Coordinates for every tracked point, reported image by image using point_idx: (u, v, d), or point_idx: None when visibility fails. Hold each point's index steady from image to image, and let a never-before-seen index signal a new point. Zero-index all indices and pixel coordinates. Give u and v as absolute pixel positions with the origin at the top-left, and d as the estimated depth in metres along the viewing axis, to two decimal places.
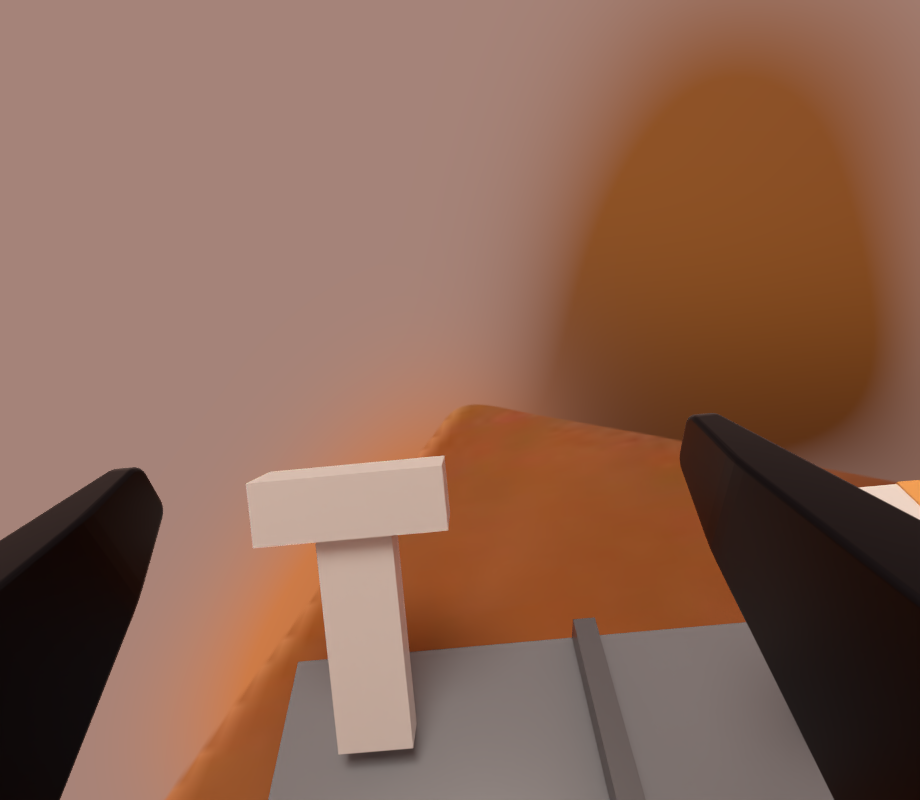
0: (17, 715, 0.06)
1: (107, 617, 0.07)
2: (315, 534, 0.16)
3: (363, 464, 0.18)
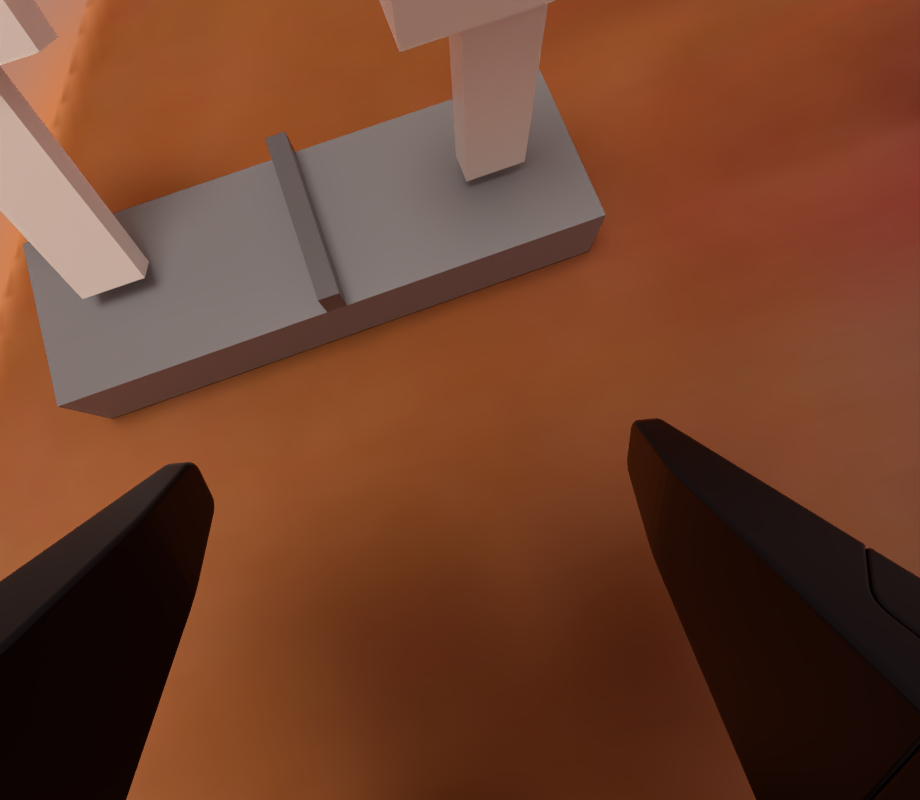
0: (91, 708, 0.06)
1: (168, 611, 0.07)
2: None
3: None
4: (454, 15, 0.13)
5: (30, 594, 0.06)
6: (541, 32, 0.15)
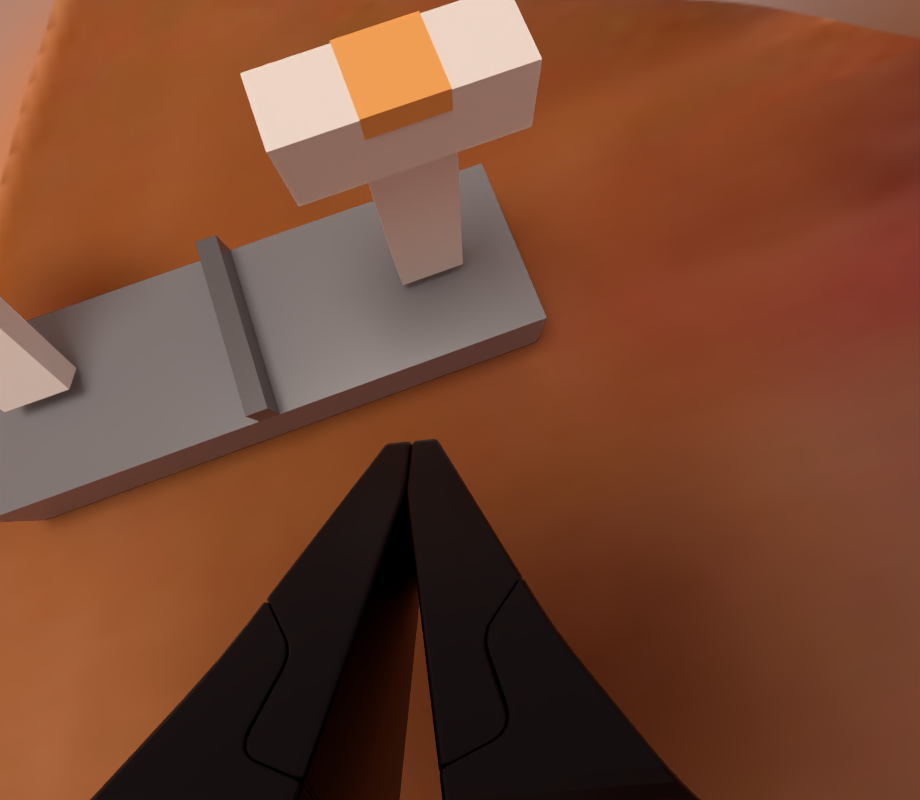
0: (387, 682, 0.06)
1: (413, 589, 0.07)
2: None
3: None
4: (352, 173, 0.12)
5: (345, 565, 0.06)
6: (456, 170, 0.14)
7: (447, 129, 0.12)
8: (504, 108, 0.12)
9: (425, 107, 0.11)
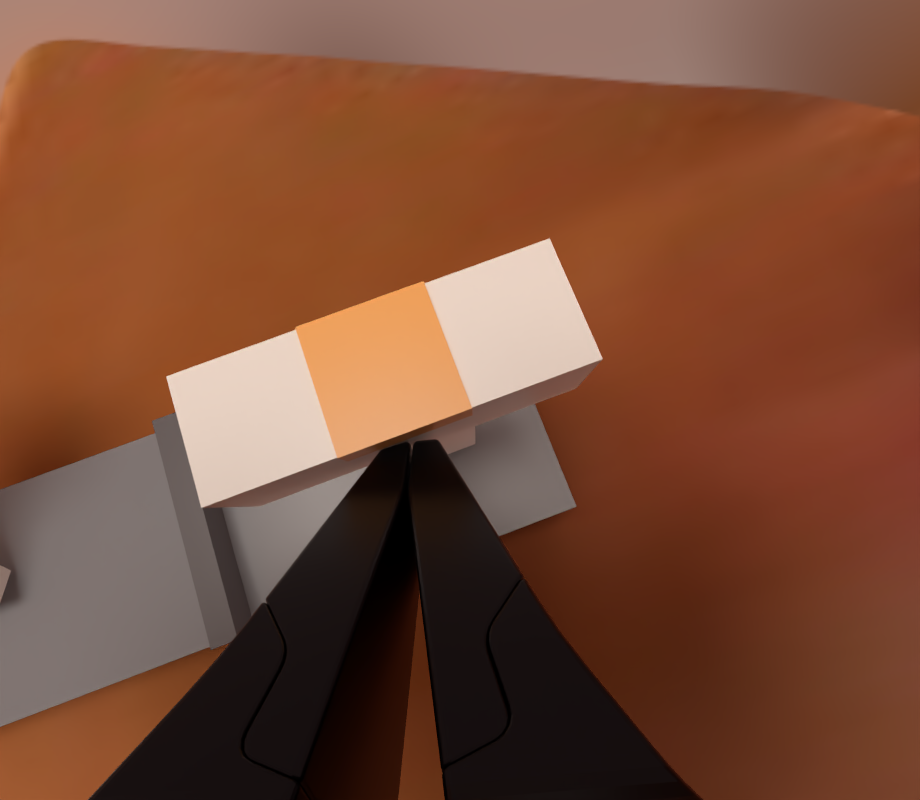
0: (386, 683, 0.06)
1: (412, 589, 0.07)
2: None
3: None
4: (331, 474, 0.09)
5: (343, 565, 0.06)
6: None
7: (463, 422, 0.09)
8: (543, 392, 0.09)
9: (433, 424, 0.08)
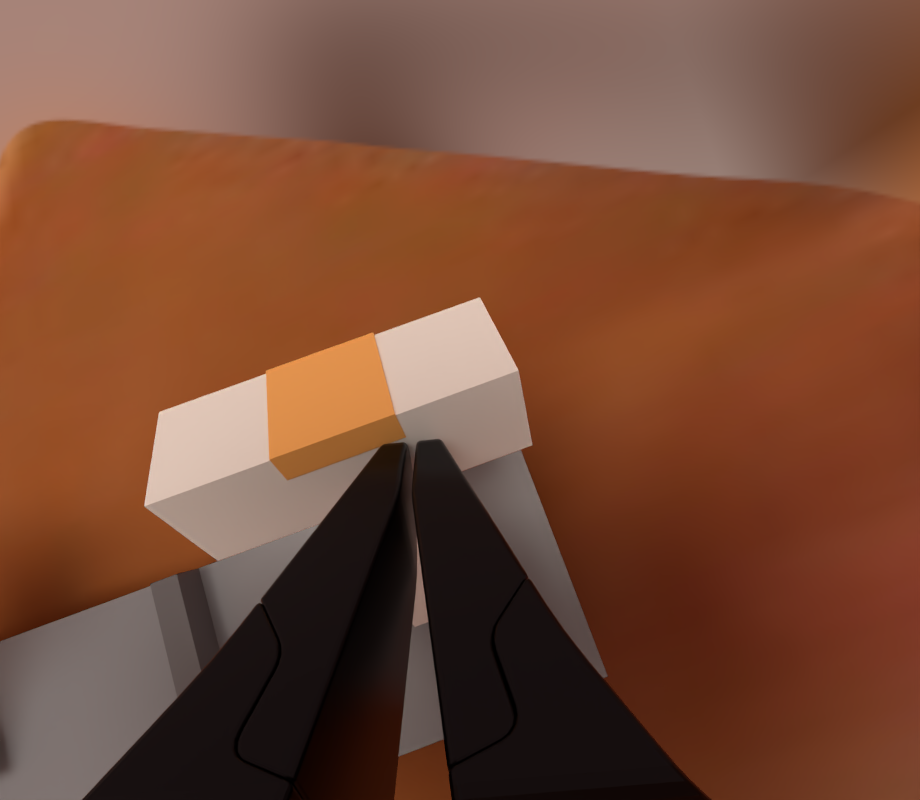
0: (381, 683, 0.06)
1: (408, 590, 0.07)
2: None
3: None
4: (283, 518, 0.09)
5: (338, 566, 0.06)
6: None
7: None
8: (483, 428, 0.09)
9: (364, 437, 0.08)
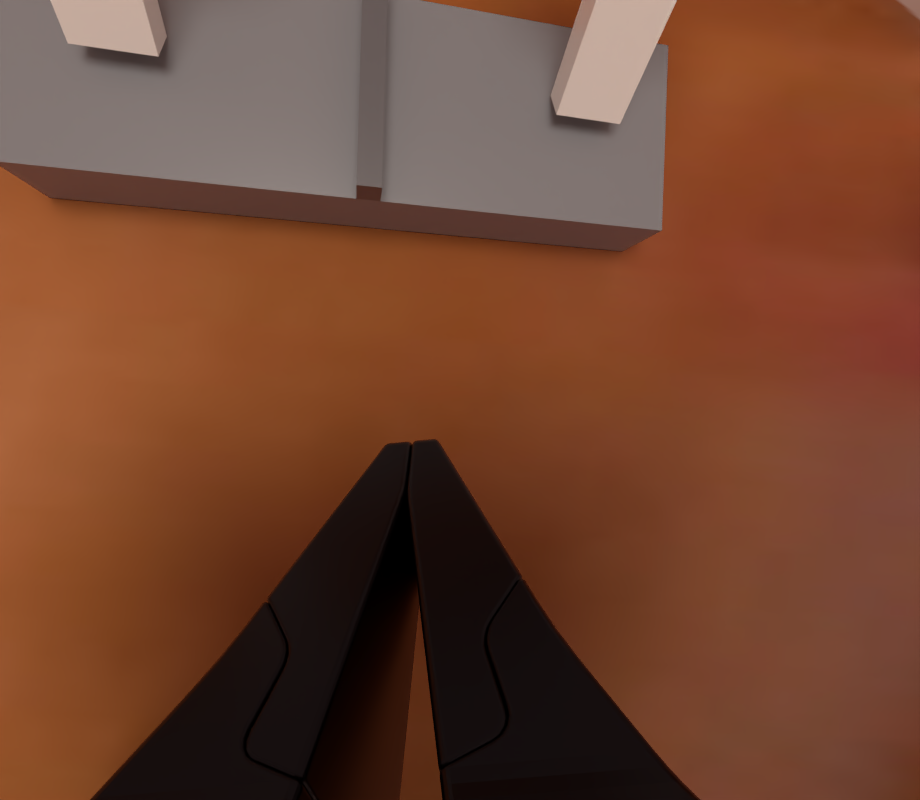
0: (387, 683, 0.06)
1: (413, 590, 0.07)
2: None
3: None
4: None
5: (345, 565, 0.06)
6: None
7: None
8: None
9: None
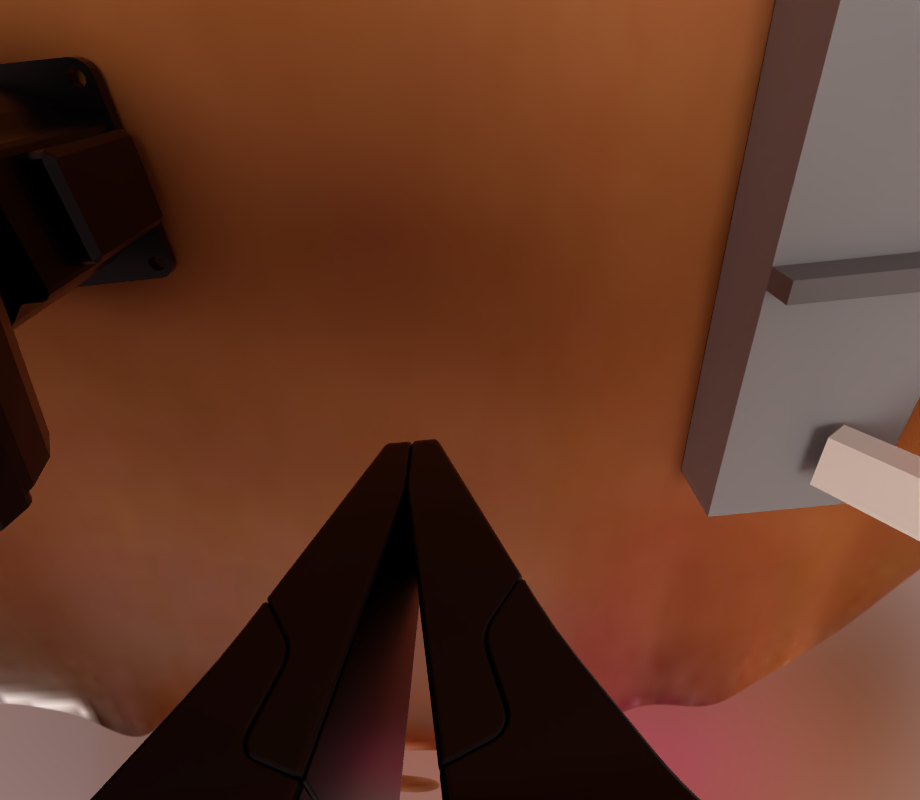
0: (387, 683, 0.06)
1: (413, 590, 0.07)
2: None
3: None
4: None
5: (345, 566, 0.06)
6: None
7: None
8: None
9: None
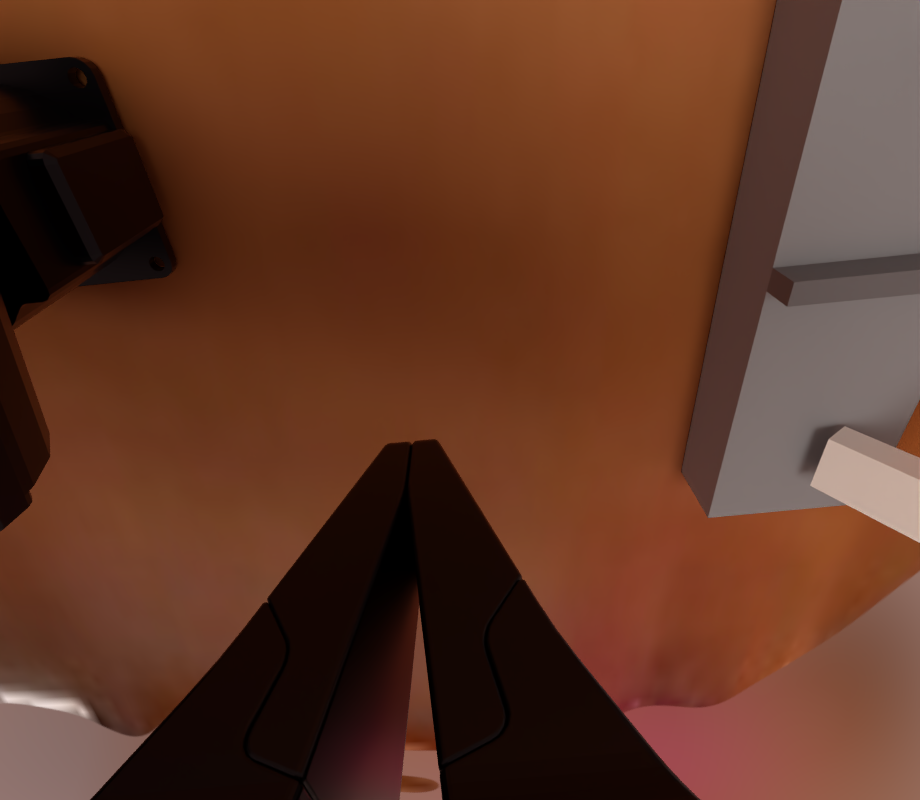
0: (387, 683, 0.06)
1: (413, 590, 0.07)
2: None
3: None
4: None
5: (345, 566, 0.06)
6: None
7: None
8: None
9: None
